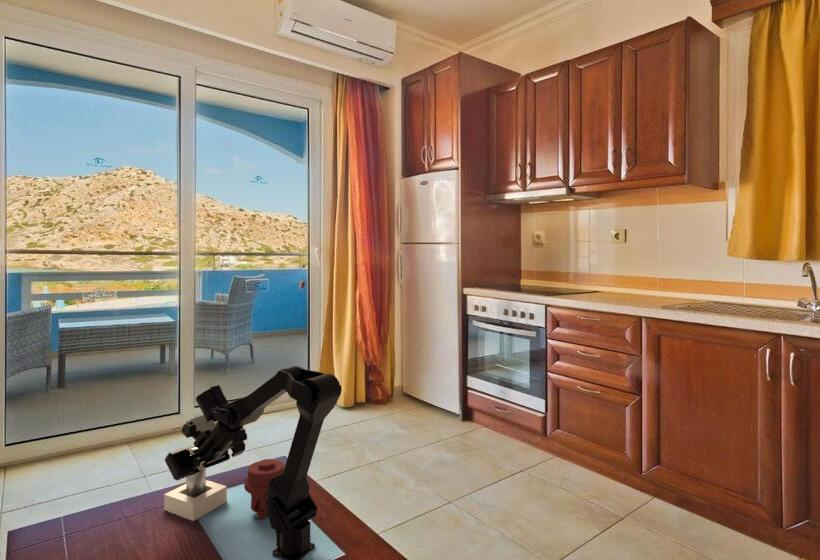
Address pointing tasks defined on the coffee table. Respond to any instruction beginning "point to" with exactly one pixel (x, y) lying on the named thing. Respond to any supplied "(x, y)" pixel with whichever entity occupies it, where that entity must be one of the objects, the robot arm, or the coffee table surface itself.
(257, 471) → the mechanical component
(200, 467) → the cylinder
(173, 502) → the docking block
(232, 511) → the coffee table surface
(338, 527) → the coffee table surface
